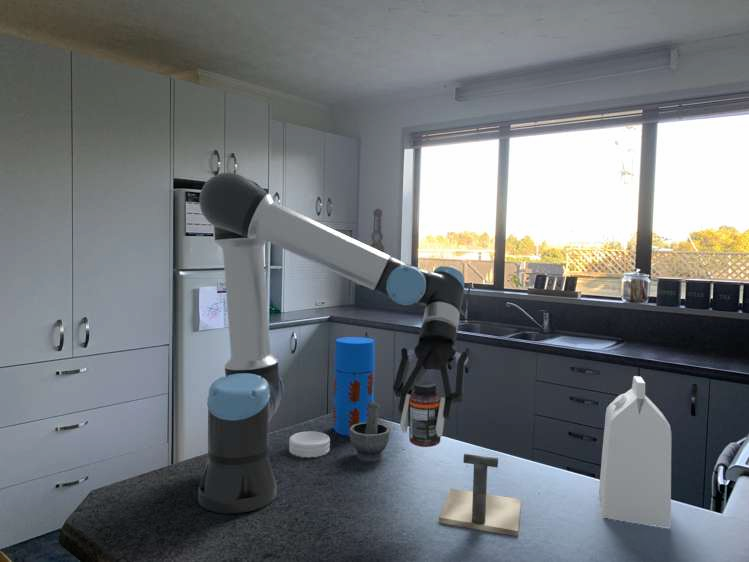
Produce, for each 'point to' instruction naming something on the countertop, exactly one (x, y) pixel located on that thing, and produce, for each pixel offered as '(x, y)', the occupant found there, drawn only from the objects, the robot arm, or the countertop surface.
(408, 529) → the countertop surface
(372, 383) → the thermos
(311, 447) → the white round container
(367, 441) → the mortar and pestle
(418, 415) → the supplement bottle
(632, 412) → the milk
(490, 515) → the headphone stand
